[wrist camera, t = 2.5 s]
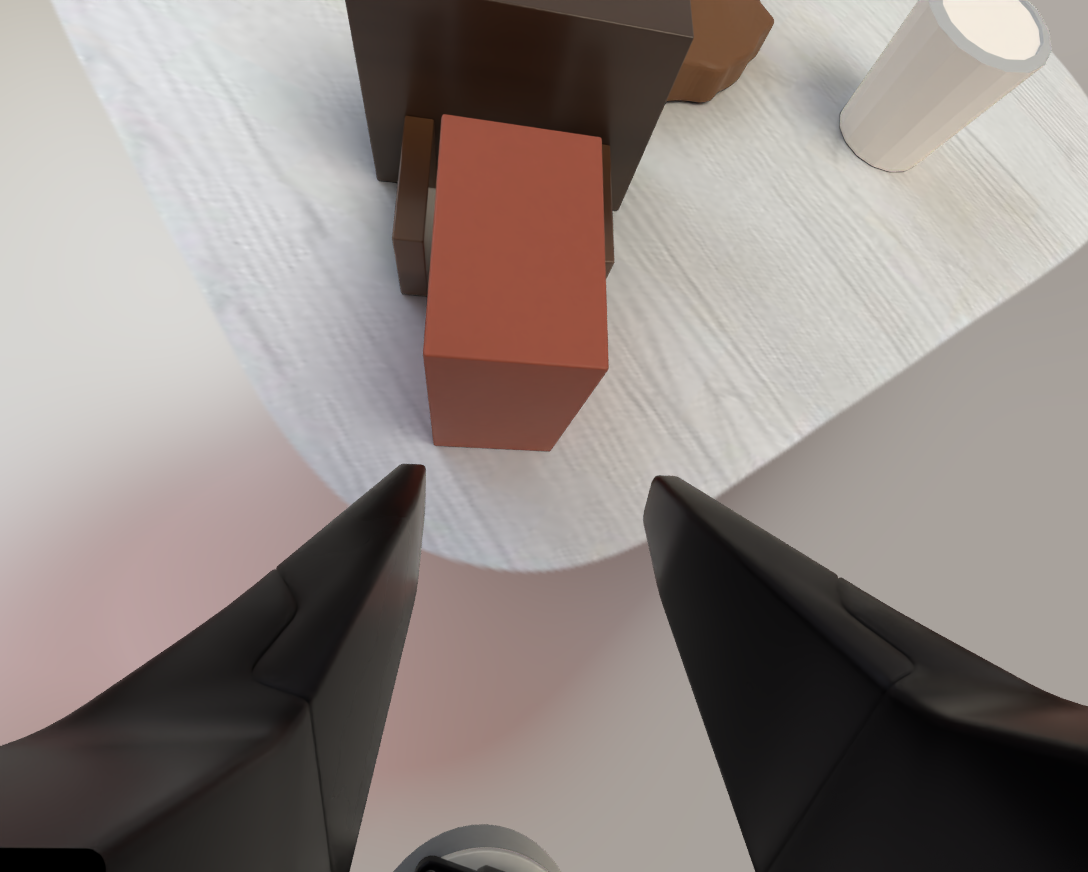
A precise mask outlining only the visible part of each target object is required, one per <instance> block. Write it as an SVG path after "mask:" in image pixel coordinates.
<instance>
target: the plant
mask: <svg viewBox="0 0 1088 872" xmlns="http://www.w3.org/2000/svg"><path fill="white" fill-rule="evenodd" d="M690 2H691V12H692V22H693V32H694V39H693V41H692V44H691V46H690V48H689V50H688V53H687V55H686V57H685V60H684V62H683V64H682V66H681V69H680V71H679V73H678V75H677V78H676V80H675V82H674V85H673V87H672V89H671V91H670V94H669V96H668V98H667V100H666V101H672V100H685V101H693V102H707V101H710V100H711V99H712V98H713V97H714V96H715V95H716V93H718V92H719V91H721V90H723V89H726V88H727V87H729V86H730V85H732V84H733V83H735V82H736V81H737V80H738V78H739V77H740V75H741V74H742V72H743V70H744V69H745V67H746V65H747V63H748V62H749V61H750V60H752V59H753V58H754V57H755V56H756V55H757V53H758V51H759V49H760V48H761V46H762V44H763V42H764V41H765V39H766V37H767V35H768V33H769V32H770V30H771V28H772V26H773V24H774V19H773V17H772V16H771V15H770V14H769V12H768V11H767V10H766V9H765V8H764V6H763V5H762V4H761V2H760V0H690Z"/></svg>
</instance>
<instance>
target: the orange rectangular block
mask: <svg viewBox="0 0 1088 872" xmlns="http://www.w3.org/2000/svg"><path fill="white" fill-rule="evenodd" d="M423 359H424V367H425V375H426V384H427V392H428V401H429V409H430V417H431V426H432V434H433V443H434V445H435V446H453V447H473V448H493V449H513V450H533V451H551V449H552V448H553V447H554V445H555V444H556V442H557V441H558V439H559V438H560V437H561V435H562V434H563V432H564V431H565V430H566V428H567V427H568V425H569V424H570V423H571V421H572V420H573V418H574V417H575V416H576V414H577V413H578V411H579V410H580V409H581V407H582V406H583V404H584V403H585V401H586V400H587V399H588V397H589V396H590V394H591V393H592V392H593V390H594V389H595V387H596V386H597V385H598V383H599V382H600V380H601V379H602V378H603V376H604V375H605V373H606V372H607V371H608V368H609V365H608V332H607V299H606V266H605V233H604V200H603V167H602V139H601V138H600V137H595V136H588V135H582V134H575V133H568V132H561V131H555V130H548V129H541V128H534V127H528V126H521V125H514V124H507V123H501V122H494V121H487V120H480V119H474V118H467V117H460V116H453V115H447V114H443V115H442V118H441V131H440V143H439V156H438V169H437V181H436V194H435V207H434V220H433V232H432V245H431V258H430V271H429V283H428V296H427V309H426V322H425V334H424V347H423Z"/></svg>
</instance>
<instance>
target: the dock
mask: <svg viewBox="0 0 1088 872" xmlns="http://www.w3.org/2000/svg"><path fill="white" fill-rule="evenodd" d="M345 2H346V8H347V13H348V19H349V24H350V30H351V36H352V41H353V47H354V52H355V58H356V63H357V69H358V75H359V80H360V86H361V91H362V97H363V102H364V108H365V114H366V119H367V125H368V130H369V136H370V141H371V147H372V153H373V158H374V164H375V169H376V175H377V180H379V181H387V182H395V183H398V186H397V195H396V205H395V214H394V224H393V234H392V241H393V247H394V253H395V259H396V265H397V271H398V277H399V283H400V289H401V293H402V294H408V295H418V296H428V283H429V271H430V258H431V245H432V232H433V220H434V207H435V194H436V181H437V169H438V156H439V143H440V131H441V118H442V115H443V114H447V115H453V116H460V117H467V118H474V119H480V120H487V121H494V122H501V123H507V124H514V125H521V126H528V127H534V128H541V129H548V130H555V131H561V132H568V133H575V134H582V135H588V136H595V137H600V138H601V139H602V167H603V200H604V233H605V266H606V278H607V276H608V274H609V272H610V270H611V268H612V266H613V264H614V241H613V213H612V210H619V207H620V205H621V203H622V201H623V198H624V196H625V194H626V192H627V189H628V187H629V185H630V182H631V180H632V178H633V176H634V173H635V171H636V169H637V166H638V164H639V162H640V160H641V157H642V155H643V153H644V151H645V148H646V146H647V144H648V141H649V139H650V137H651V135H652V132H653V130H654V128H655V126H656V123H657V121H658V119H659V116H660V114H661V112H662V110H663V107H664V105H665V103H666V100H667V98H668V96H669V94H670V91H671V89H672V87H673V85H674V82H675V80H676V78H677V75H678V73H679V71H680V69H681V66H682V64H683V62H684V60H685V57H686V55H687V53H688V50H689V48H690V46H691V44H692V41H693V39H694V32H693V22H692V12H691V2H690V0H345Z"/></svg>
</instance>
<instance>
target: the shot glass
mask: <svg viewBox="0 0 1088 872" xmlns="http://www.w3.org/2000/svg"><path fill="white" fill-rule="evenodd" d="M1051 51H1052V46H1051V39H1050V31H1049V29H1048V28H1047V26H1046V24H1045V22H1044V20H1043V18H1042V17H1041V15H1040V13H1039V11H1038V10H1037V9H1036V8H1035V7H1034V6H1033V5H1032V3H1031V2H1030V1H1029V0H918V2H917V3H916V5H915V6H914V7H913V9H912V10H911V12H910V13H909V15H908V16H907V18H906V19H905V20H904V22H903V23H902V25H901V26H900V28H899V29H898V31H897V32H896V33H895V35H894V36H893V38H892V39H891V41H890V42H889V44H888V45H887V46H886V48H885V49H884V51H883V52H882V54H881V55H880V57H879V58H878V59H877V61H876V62H875V64H874V65H873V67H872V68H871V70H870V71H869V72H868V74H867V75H866V77H865V78H864V80H863V81H862V83H861V84H860V85H859V87H858V88H857V90H856V91H855V93H854V94H853V96H852V97H851V99H850V100H849V101H848V103H847V104H846V106H845V107H844V109H843V110H842V112H841V113H840V129H841V131H842V134H843V136H844V139H845V142H846V143H847V144H848V145H849V146H850V148H851V149H852V150H853V151H854V153H855V154H856V155H857V156H858V157H860V158H861V159H863V160H864V161H866V162H867V163H868V164H870V165H871V166H873V167H876V168H879V169H882V170H885V171H888V172H900V171H906V170H908V169H910V168H912V167H914V166H915V165H917V164H918V163H919V162H921V161H922V160H923V159H925V158H926V157H927V156H928V155H930V154H931V153H932V152H934V151H935V150H936V149H937V148H939V147H940V146H941V145H943V144H944V143H945V142H946V141H948V140H949V139H950V138H952V137H953V136H954V135H955V134H957V133H958V132H959V131H961V130H962V129H963V128H964V127H966V126H967V125H968V124H970V123H971V122H972V121H973V120H975V119H976V118H977V117H979V116H980V115H981V114H982V113H984V112H985V111H986V110H988V109H989V108H990V107H991V106H993V105H994V104H995V103H997V102H998V101H999V100H1000V99H1002V98H1003V97H1004V96H1006V95H1007V94H1008V93H1009V92H1011V91H1012V90H1013V89H1015V88H1016V87H1017V86H1018V85H1020V84H1021V83H1022V82H1024V81H1025V80H1026V79H1027V78H1029V77H1030V76H1031V75H1033V74H1034V73H1035V72H1036V71H1038V70H1039V69H1040V68H1042V67H1043V66H1044V65H1045V64H1046V62H1047V60H1048V58H1049V55H1050V53H1051Z"/></svg>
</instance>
